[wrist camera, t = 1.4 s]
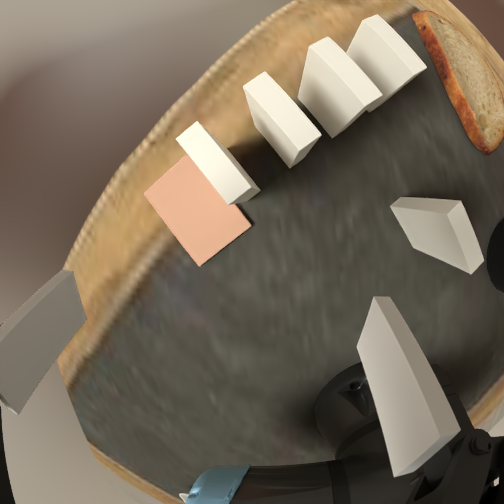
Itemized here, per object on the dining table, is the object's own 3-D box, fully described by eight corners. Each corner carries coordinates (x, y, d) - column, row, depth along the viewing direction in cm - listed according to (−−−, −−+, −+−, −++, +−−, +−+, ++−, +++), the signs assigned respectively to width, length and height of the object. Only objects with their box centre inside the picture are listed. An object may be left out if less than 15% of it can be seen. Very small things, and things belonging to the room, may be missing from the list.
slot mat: (192, 150, 27) (191, 149, 26) (251, 225, 28) (251, 225, 27) (145, 193, 28) (143, 193, 28) (200, 265, 29) (199, 266, 29)
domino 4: (347, 67, 23) (377, 14, 13) (380, 105, 24) (427, 67, 13) (335, 73, 24) (362, 20, 13) (369, 112, 24) (414, 75, 14)
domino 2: (269, 116, 25) (264, 71, 15) (303, 158, 26) (321, 134, 15) (255, 126, 26) (242, 86, 15) (289, 168, 26) (299, 150, 16)
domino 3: (310, 89, 24) (328, 36, 14) (344, 129, 25) (382, 94, 14) (297, 97, 25) (308, 46, 14) (332, 138, 25) (364, 106, 15)
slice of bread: (414, 5, 20) (424, -7, 16) (503, 78, 20) (517, 72, 16) (388, 85, 24) (401, 73, 20) (491, 167, 24) (508, 166, 20)
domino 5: (401, 196, 26) (460, 200, 15) (423, 238, 26) (484, 260, 16) (389, 206, 26) (446, 214, 15) (413, 247, 27) (471, 274, 16)
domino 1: (226, 148, 26) (197, 120, 16) (260, 190, 27) (251, 186, 16) (213, 159, 27) (175, 139, 16) (246, 201, 27) (228, 205, 17)
